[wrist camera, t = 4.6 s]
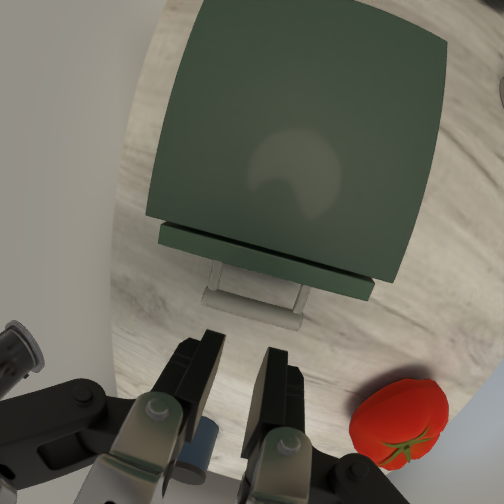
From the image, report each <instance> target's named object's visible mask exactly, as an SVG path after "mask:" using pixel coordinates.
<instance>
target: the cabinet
mask: <svg viewBox="0 0 504 504" xmlns="http://www.w3.org/2000/svg"><path fill="white" fill-rule="evenodd" d="M446 62H447V41H445V40H443V39H442V38H440V37H438V36H436V35H434V34H432V33H431V32H429V31H427V30H425V29H423V28H421V27H419V26H417V25H415V24H413V23H411V22H408V21H406V20H404V19H402V18H400V17H397V16H395V15H393V14H390V13H388V12H385V11H383V10H380V9H377V8H375V7H372V6H369V5H366V4H363V3H361V2H357V1H354V0H204V1H203V4H202V6H201V8H200V11H199V13H198V16H197V18H196V21H195V23H194V26H193V29H192V31H191V34H190V37H189V39H188V42H187V45H186V48H185V51H184V54H183V57H182V60H181V63H180V66H179V69H178V72H177V75H176V79H175V82H174V85H173V89H172V92H171V96H170V99H169V103H168V107H167V111H166V114H165V118H164V122H163V126H162V131H161V135H160V139H159V144H158V148H157V153H156V158H155V163H154V168H153V173H152V178H151V184H150V189H149V195H148V201H147V208H146V216H150V217H154V218H157V219H161V220H165V221H169V222H172V223H176V224H180V225H184V226H187V227H191V228H195V229H198V230H202V231H206V232H209V233H213V234H217V235H221V236H224V237H228V238H232V239H235V240H239V241H243V242H246V243H250V244H253V245H257V246H261V247H264V248H268V249H272V250H275V251H279V252H282V253H286V254H290V255H293V256H297V257H301V258H304V259H308V260H311V261H315V262H318V263H322V264H326V265H329V266H333V267H336V268H340V269H343V270H347V271H350V272H354V273H358V274H361V275H365V276H368V277H372V278H375V279H379V280H382V281H386V282H389V283H393V282H394V280H395V277H396V275H397V272H398V270H399V267H400V264H401V262H402V259H403V257H404V254H405V251H406V248H407V246H408V243H409V240H410V237H411V234H412V231H413V228H414V225H415V222H416V219H417V216H418V213H419V209H420V206H421V203H422V199H423V196H424V192H425V188H426V184H427V181H428V177H429V173H430V168H431V164H432V160H433V155H434V151H435V146H436V141H437V135H438V130H439V124H440V118H441V111H442V104H443V96H444V87H445V76H446Z"/></svg>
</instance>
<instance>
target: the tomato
mask: <svg viewBox="0 0 504 504" xmlns="http://www.w3.org/2000/svg"><path fill="white" fill-rule="evenodd" d="M448 415H449V404H448V401H447V398H446V395H445V394H444V392H443V391H442V389H441V388H440V387H439V385H438V384H437V383H436V382H435V381H433V380H431V379H423V380H415V379H408V378H405V379H403V380H400V381H398V382H394V383H391V384H389V385H387V386H385V387H384V388H382V389H381V390H379V391H377V392H376V393H374V394H373V395H372V396H370V397H369V398H368V399H367V400H365V401H364V402H363V403H362V404H361V405H360V406H359V407H358V408H357V409H356V410H355V412H354V414H353V416H352V418H351V421H350V425H349V434H350V437H351V439H352V442H353V445H354V448H355V449H356V451H357V452H358V453H359V454H363V455H365V456H367V457H369V458H370V459H371V460H372V461H373V462H374V463H375V464H376V465H377V466H378V467H382V468H384V469H386V470H388V471H391V470H397V469H400V468H402V467H403V466H404V465H405V464H406V463H407V462H410V460H411V459H419V458H421V457H422V456H424V455H425V454H426V453H428V452H429V451H430V450H431V449H432V447H433V446H434V444H435V443H436V441H437V440H438V438H439V436H440V432H442V431H443V430H444V428H445V426H446V424H447V422H448Z"/></svg>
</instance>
